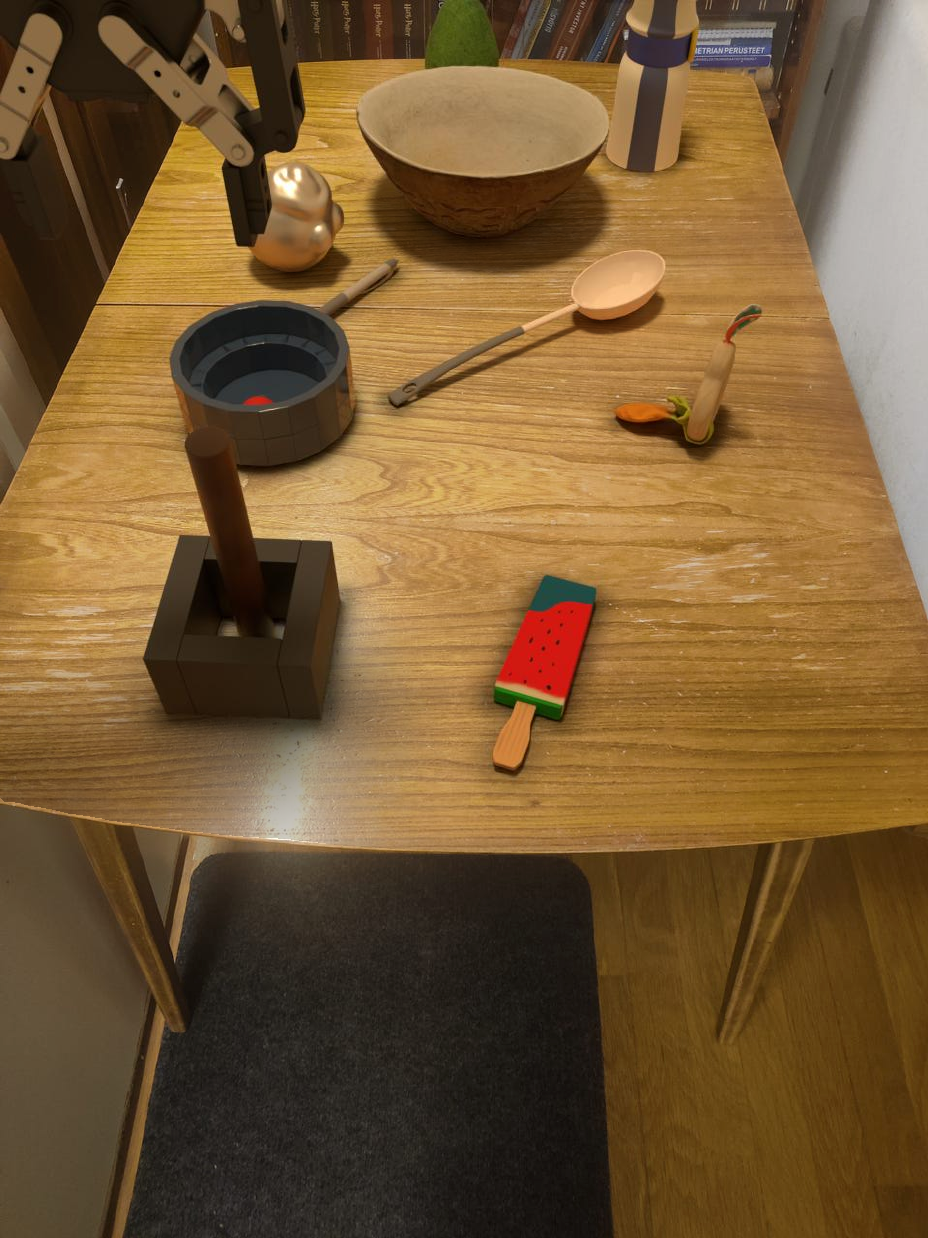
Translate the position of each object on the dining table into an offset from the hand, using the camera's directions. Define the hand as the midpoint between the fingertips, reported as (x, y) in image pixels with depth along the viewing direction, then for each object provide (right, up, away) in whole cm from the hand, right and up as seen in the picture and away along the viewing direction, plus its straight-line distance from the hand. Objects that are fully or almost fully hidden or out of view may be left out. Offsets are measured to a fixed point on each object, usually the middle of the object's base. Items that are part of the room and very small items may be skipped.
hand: (153, 233), depth 44 cm
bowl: (+15, +24, +57) cm, 64 cm away
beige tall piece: (+31, -1, +38) cm, 49 cm away
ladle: (+19, +7, +44) cm, 48 cm away
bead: (-2, -1, +34) cm, 34 cm away
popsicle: (+19, -21, +22) cm, 36 cm away
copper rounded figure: (-2, +16, +51) cm, 54 cm away
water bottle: (+33, +33, +64) cm, 79 cm away
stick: (0, -18, +24) cm, 30 cm away
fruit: (+13, +41, +70) cm, 82 cm away
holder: (0, -19, +23) cm, 30 cm away
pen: (+3, +12, +47) cm, 49 cm away
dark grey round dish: (-2, 0, +38) cm, 38 cm away
